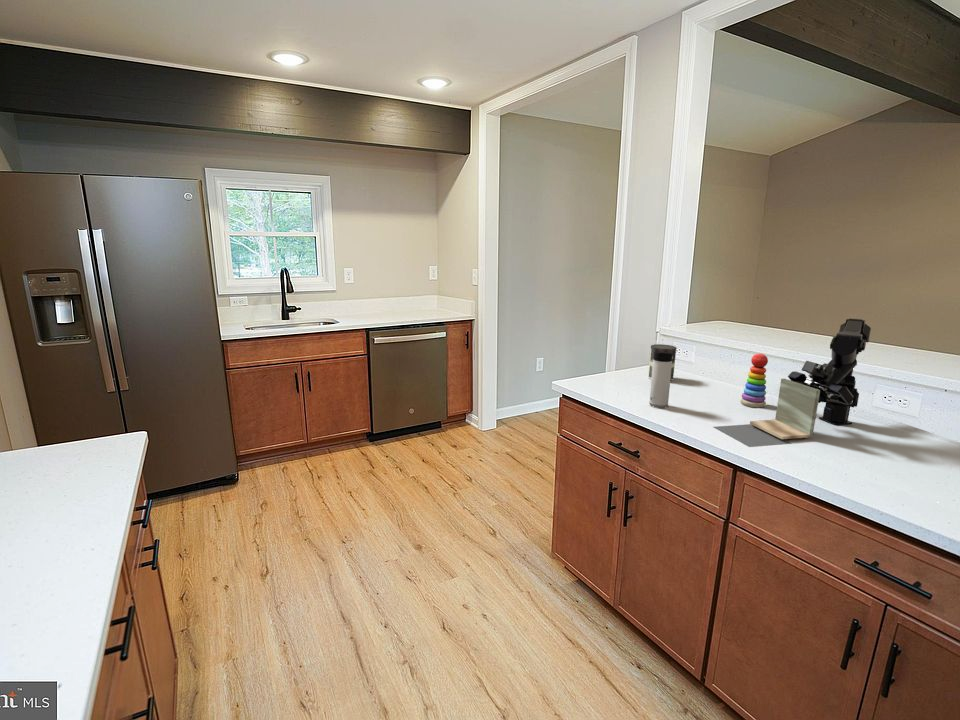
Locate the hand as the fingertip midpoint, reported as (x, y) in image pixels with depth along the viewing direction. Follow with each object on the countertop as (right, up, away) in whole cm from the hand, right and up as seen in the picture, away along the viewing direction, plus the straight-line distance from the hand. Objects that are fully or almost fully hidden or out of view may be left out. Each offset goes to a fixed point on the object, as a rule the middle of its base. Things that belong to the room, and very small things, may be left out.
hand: (799, 407), depth 147 cm
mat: (-15, -8, -1) cm, 17 cm away
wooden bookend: (-6, -8, +1) cm, 10 cm away
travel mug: (-33, -2, +27) cm, 42 cm away
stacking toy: (+2, -2, +28) cm, 28 cm away
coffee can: (-18, +6, +63) cm, 66 cm away
